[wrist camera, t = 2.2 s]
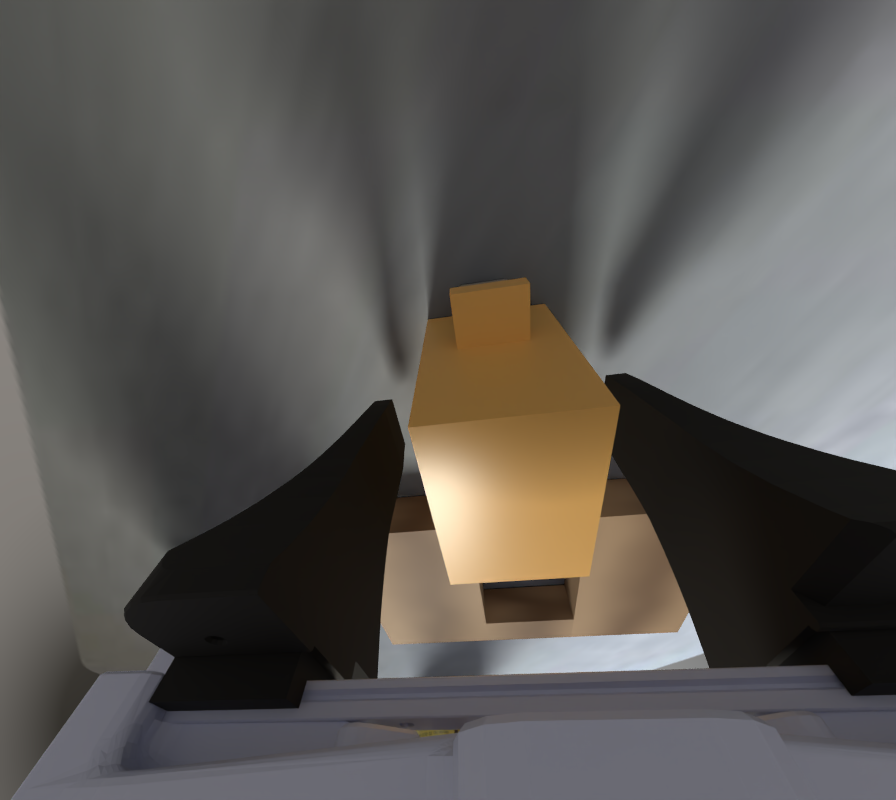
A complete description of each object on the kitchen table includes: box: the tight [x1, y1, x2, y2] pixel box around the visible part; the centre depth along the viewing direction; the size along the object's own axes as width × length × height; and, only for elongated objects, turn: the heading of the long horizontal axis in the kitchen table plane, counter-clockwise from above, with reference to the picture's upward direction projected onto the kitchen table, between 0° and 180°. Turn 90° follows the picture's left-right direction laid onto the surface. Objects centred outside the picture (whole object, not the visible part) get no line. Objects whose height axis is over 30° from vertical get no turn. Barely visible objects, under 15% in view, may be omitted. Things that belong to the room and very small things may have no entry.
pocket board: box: [380, 478, 689, 644], centre depth 18 cm, size 18×12×2 cm, turn 98°
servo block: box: [408, 277, 620, 585], centre depth 10 cm, size 4×9×6 cm, turn 8°
